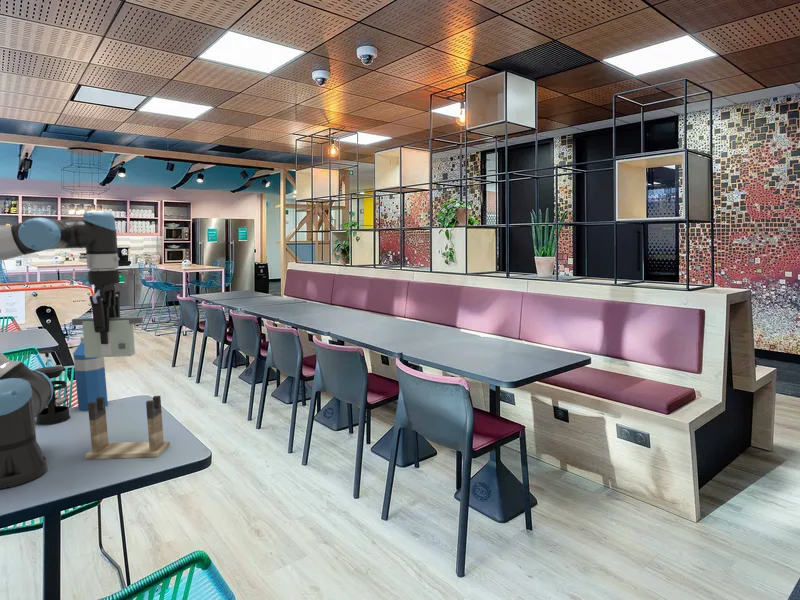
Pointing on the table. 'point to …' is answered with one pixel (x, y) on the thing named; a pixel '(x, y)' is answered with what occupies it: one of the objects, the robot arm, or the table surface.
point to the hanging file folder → (119, 335)
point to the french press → (53, 397)
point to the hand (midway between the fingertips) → (110, 353)
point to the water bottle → (89, 378)
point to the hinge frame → (126, 449)
